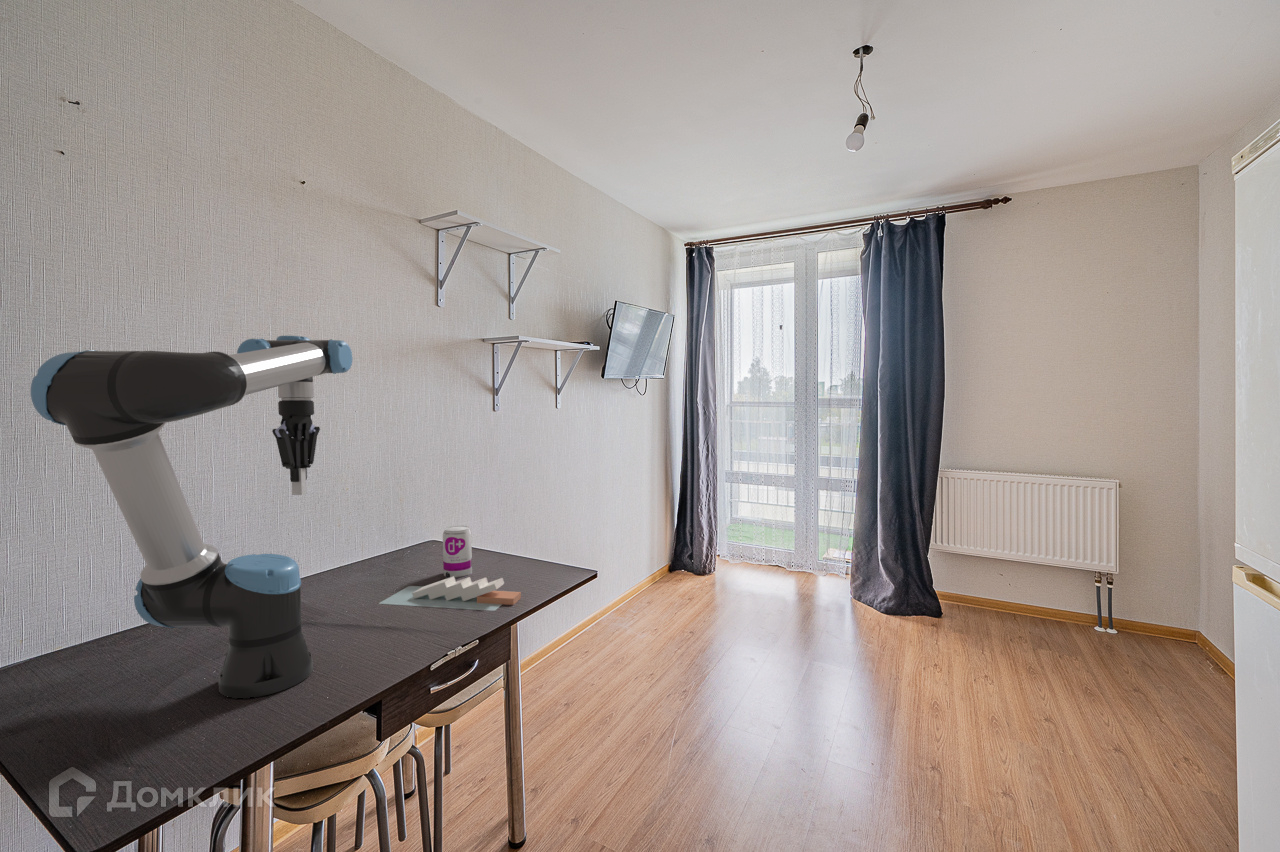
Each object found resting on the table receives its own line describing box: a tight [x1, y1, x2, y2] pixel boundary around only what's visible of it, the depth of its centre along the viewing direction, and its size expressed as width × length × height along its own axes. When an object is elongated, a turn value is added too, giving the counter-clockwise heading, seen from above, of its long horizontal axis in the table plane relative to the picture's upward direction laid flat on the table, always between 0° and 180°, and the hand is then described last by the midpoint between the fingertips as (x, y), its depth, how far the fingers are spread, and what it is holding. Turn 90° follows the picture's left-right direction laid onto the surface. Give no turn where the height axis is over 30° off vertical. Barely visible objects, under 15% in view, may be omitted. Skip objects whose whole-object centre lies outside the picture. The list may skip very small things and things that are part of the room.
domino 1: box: [412, 576, 456, 599], centre depth 150 cm, size 2×5×10 cm
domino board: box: [378, 585, 513, 612], centre depth 149 cm, size 14×32×1 cm, turn 80°
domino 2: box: [428, 576, 473, 600], centre depth 149 cm, size 2×5×10 cm
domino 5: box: [477, 590, 522, 606], centre depth 147 cm, size 2×5×10 cm
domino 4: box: [461, 577, 505, 601], centre depth 147 cm, size 2×5×10 cm
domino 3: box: [445, 577, 489, 601], centre depth 148 cm, size 2×5×10 cm
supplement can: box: [442, 525, 473, 579], centre depth 170 cm, size 8×8×15 cm
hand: (299, 494), depth 139 cm, fingers closed
